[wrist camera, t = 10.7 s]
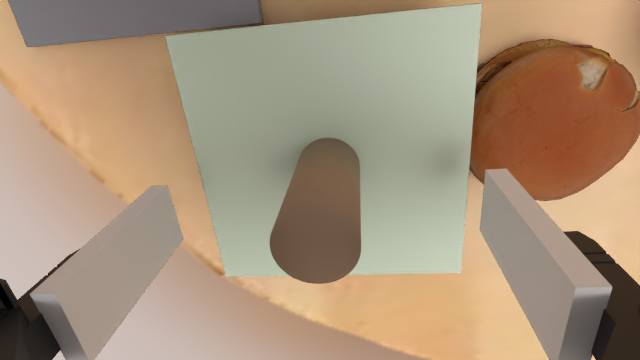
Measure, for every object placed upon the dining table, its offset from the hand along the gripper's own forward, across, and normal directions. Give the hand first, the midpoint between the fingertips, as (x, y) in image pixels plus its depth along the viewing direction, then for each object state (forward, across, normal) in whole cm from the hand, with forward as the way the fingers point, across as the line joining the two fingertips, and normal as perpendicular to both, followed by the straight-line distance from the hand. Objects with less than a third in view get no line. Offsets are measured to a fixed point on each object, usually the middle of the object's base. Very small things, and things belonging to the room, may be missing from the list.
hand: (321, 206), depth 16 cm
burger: (+12, +12, 0) cm, 17 cm away
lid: (+5, 0, 0) cm, 5 cm away
